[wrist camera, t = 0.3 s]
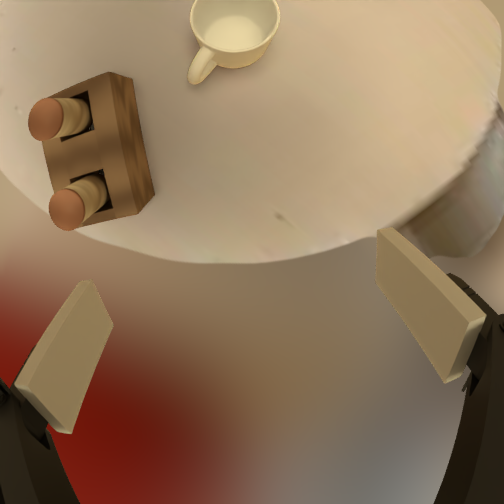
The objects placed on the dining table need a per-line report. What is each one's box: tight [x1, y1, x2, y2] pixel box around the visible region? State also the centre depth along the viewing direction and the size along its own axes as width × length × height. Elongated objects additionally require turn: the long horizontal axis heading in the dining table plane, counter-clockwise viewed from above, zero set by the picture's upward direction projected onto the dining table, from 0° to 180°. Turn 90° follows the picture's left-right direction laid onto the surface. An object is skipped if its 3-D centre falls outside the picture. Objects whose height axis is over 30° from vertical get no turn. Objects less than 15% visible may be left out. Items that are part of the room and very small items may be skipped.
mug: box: [187, 0, 280, 85], centre depth 26 cm, size 12×8×10 cm
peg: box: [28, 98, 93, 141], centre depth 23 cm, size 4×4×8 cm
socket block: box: [42, 72, 155, 228], centre depth 30 cm, size 16×10×8 cm, turn 8°
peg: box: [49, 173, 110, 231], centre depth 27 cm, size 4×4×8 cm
